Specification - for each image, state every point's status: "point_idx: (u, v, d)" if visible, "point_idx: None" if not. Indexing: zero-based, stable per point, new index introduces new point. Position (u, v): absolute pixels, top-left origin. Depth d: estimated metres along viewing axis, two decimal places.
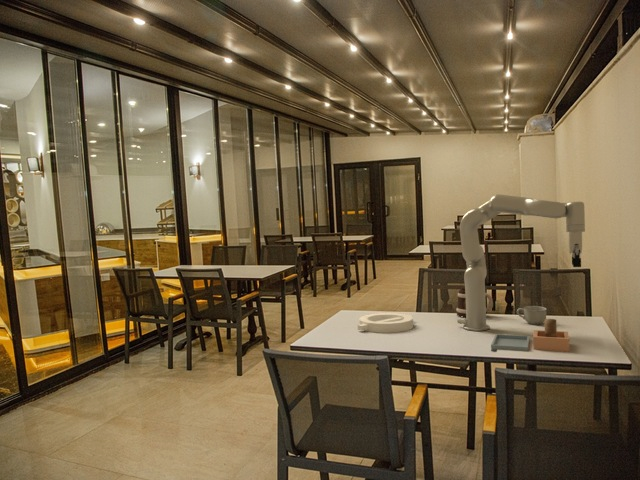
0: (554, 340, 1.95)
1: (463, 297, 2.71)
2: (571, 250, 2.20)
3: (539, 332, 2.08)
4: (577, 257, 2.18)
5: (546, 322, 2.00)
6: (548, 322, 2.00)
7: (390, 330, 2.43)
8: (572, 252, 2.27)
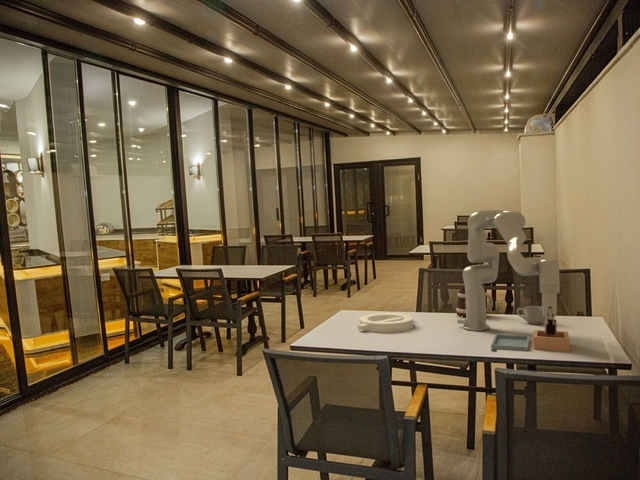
0: (554, 340, 1.95)
1: (463, 297, 2.71)
2: (544, 313, 1.97)
3: (539, 332, 2.08)
4: (551, 324, 1.98)
5: (546, 322, 2.00)
6: None
7: (390, 330, 2.43)
8: None
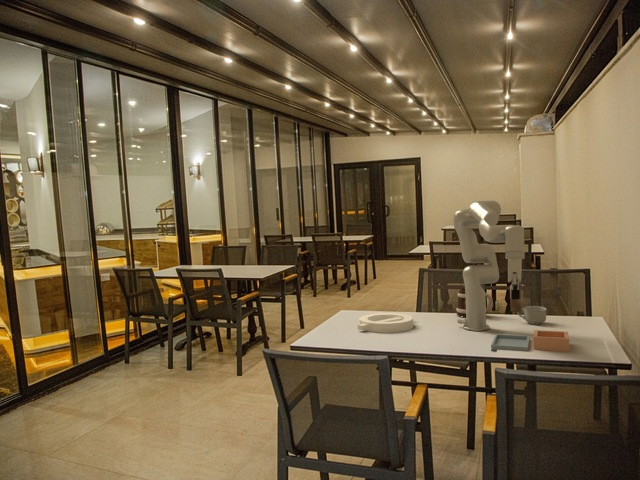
0: (554, 340, 1.95)
1: (463, 297, 2.71)
2: (509, 279, 2.02)
3: (539, 332, 2.08)
4: (515, 289, 2.03)
5: (511, 287, 2.05)
6: None
7: (390, 330, 2.43)
8: None
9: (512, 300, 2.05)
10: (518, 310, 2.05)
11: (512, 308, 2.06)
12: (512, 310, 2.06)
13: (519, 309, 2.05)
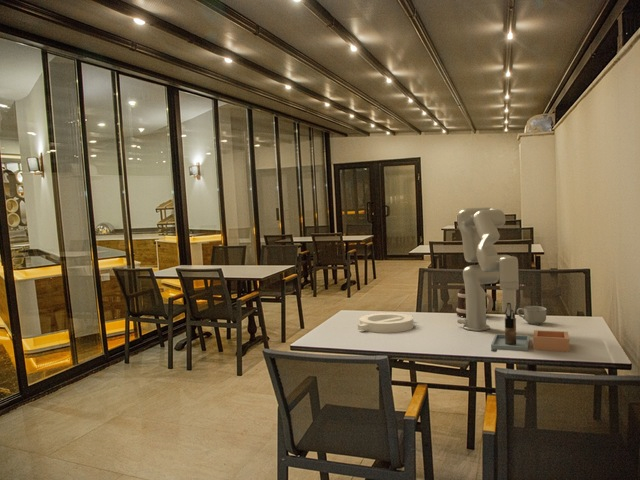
0: (554, 340, 1.95)
1: (463, 297, 2.71)
2: (503, 309, 2.04)
3: (539, 332, 2.08)
4: (509, 318, 2.02)
5: None
6: None
7: (390, 330, 2.43)
8: None
9: (507, 333, 2.07)
10: (512, 343, 2.06)
11: (507, 340, 2.07)
12: (507, 342, 2.07)
13: (513, 342, 2.06)
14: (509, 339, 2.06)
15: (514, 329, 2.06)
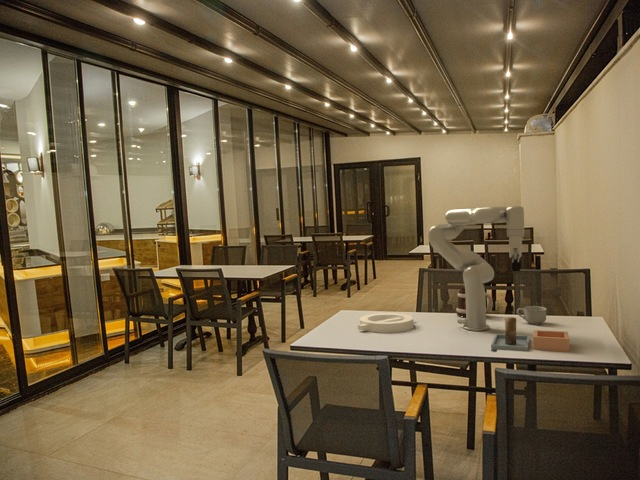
0: (554, 340, 1.95)
1: (463, 297, 2.71)
2: (510, 254, 2.21)
3: (539, 332, 2.08)
4: (516, 261, 2.19)
5: (506, 320, 2.07)
6: (508, 320, 2.06)
7: (390, 330, 2.43)
8: (513, 256, 2.29)
9: (507, 332, 2.07)
10: (512, 343, 2.06)
11: (506, 340, 2.07)
12: (506, 342, 2.07)
13: (513, 342, 2.06)
14: (509, 339, 2.06)
15: (514, 329, 2.06)
